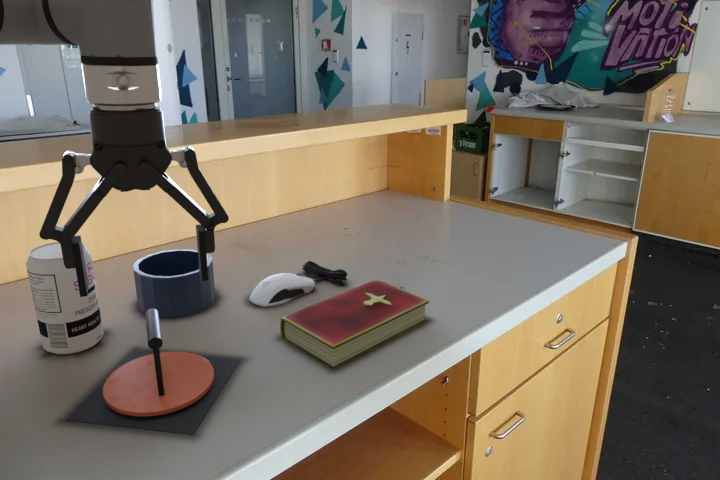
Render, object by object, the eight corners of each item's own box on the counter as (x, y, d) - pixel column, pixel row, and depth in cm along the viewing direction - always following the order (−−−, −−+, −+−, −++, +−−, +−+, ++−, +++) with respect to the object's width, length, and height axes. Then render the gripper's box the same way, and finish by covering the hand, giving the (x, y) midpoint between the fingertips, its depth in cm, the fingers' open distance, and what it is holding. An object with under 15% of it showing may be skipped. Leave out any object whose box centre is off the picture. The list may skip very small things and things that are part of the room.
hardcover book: (280, 339, 84) (279, 314, 83) (374, 298, 99) (375, 276, 97) (333, 371, 77) (333, 345, 75) (427, 322, 91) (429, 299, 89)
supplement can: (45, 335, 84) (27, 243, 79) (104, 325, 87) (90, 237, 82) (40, 362, 77) (19, 264, 72) (104, 351, 80) (89, 255, 75)
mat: (65, 422, 66) (65, 419, 65) (135, 351, 80) (134, 349, 80) (193, 437, 64) (193, 434, 63) (240, 361, 78) (240, 359, 78)
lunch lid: (102, 432, 64) (90, 360, 60) (105, 369, 75) (95, 307, 72) (221, 406, 68) (216, 338, 65) (207, 351, 80) (202, 292, 77)
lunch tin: (139, 325, 88) (134, 282, 85) (137, 293, 99) (132, 254, 96) (220, 312, 92) (216, 271, 90) (209, 283, 103) (206, 245, 101)
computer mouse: (237, 297, 98) (236, 277, 96) (314, 269, 110) (314, 251, 109) (272, 317, 91) (271, 295, 90) (349, 285, 104) (350, 265, 102)
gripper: (-18, 112, 52) (24, 313, 59) (247, 107, 61) (254, 282, 68) (-2, 103, 58) (33, 285, 66) (235, 100, 67) (243, 260, 75)
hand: (146, 284), depth 67 cm, fingers open, 13 cm apart
